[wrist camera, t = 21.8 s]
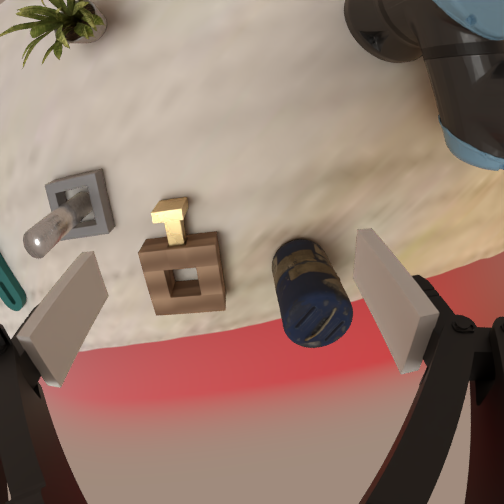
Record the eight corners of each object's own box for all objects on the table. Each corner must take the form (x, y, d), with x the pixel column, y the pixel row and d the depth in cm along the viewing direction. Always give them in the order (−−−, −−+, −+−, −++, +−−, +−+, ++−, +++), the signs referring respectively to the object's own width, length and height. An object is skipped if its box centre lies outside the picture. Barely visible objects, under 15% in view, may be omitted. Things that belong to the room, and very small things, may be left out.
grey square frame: (53, 180, 44) (44, 185, 41) (102, 168, 44) (94, 173, 41) (67, 233, 49) (60, 240, 46) (115, 226, 49) (108, 233, 46)
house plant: (57, 89, 37) (-6, 92, 23) (44, 22, 31) (-15, 7, 16) (135, 52, 36) (89, 32, 22) (119, -17, 30) (75, -55, 16)
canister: (335, 261, 54) (371, 327, 38) (294, 294, 57) (314, 366, 40) (301, 224, 50) (331, 285, 34) (258, 261, 53) (269, 332, 37)
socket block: (145, 239, 50) (138, 253, 46) (216, 231, 50) (215, 244, 46) (161, 298, 55) (156, 315, 51) (225, 293, 56) (225, 310, 51)
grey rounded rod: (71, 193, 45) (19, 231, 31) (90, 189, 45) (41, 227, 31) (77, 215, 47) (29, 259, 33) (96, 212, 47) (50, 256, 33)
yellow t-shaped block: (159, 200, 47) (151, 212, 42) (186, 197, 47) (181, 209, 42) (170, 255, 51) (164, 272, 46) (196, 252, 51) (192, 269, 46)
